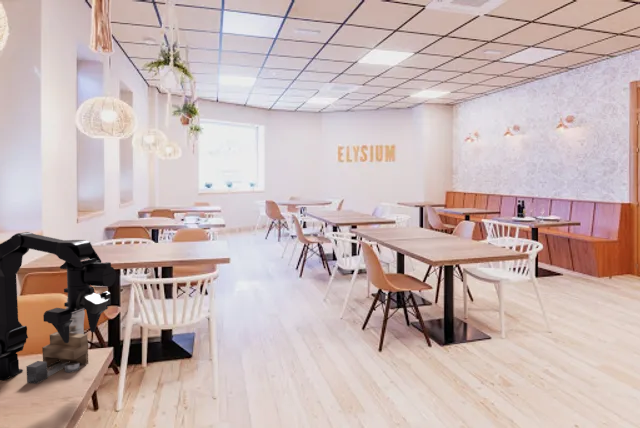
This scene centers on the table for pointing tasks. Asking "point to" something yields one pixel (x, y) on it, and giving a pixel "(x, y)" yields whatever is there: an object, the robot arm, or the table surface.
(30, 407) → the table surface
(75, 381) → the table surface
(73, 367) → the steel token
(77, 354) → the plinth cabinet
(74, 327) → the plastic bottle
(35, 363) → the grey mallet
